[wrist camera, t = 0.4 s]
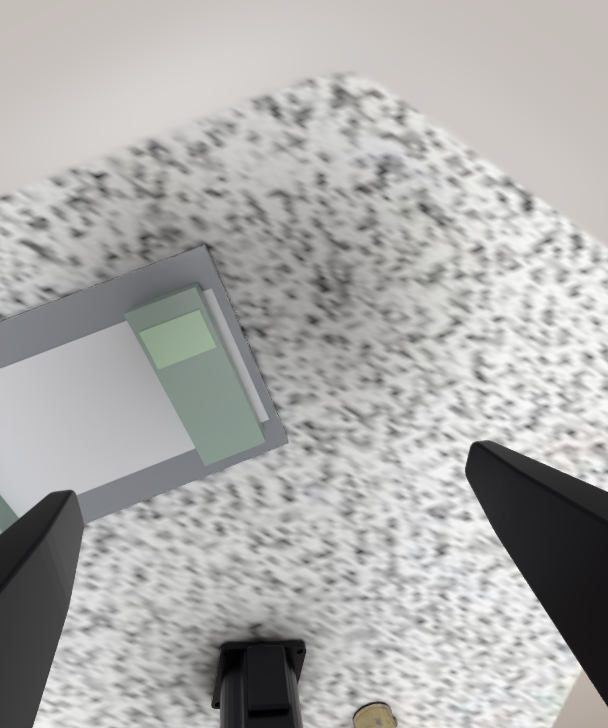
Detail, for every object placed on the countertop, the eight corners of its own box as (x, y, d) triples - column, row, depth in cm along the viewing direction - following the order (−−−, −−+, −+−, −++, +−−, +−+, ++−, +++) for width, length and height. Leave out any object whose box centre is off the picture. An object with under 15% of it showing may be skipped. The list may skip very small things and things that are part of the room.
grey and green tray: (286, 434, 25) (292, 457, 23) (-25, 557, 24) (-53, 595, 22) (205, 244, 21) (201, 247, 18) (-179, 388, 20) (-235, 412, 17)
